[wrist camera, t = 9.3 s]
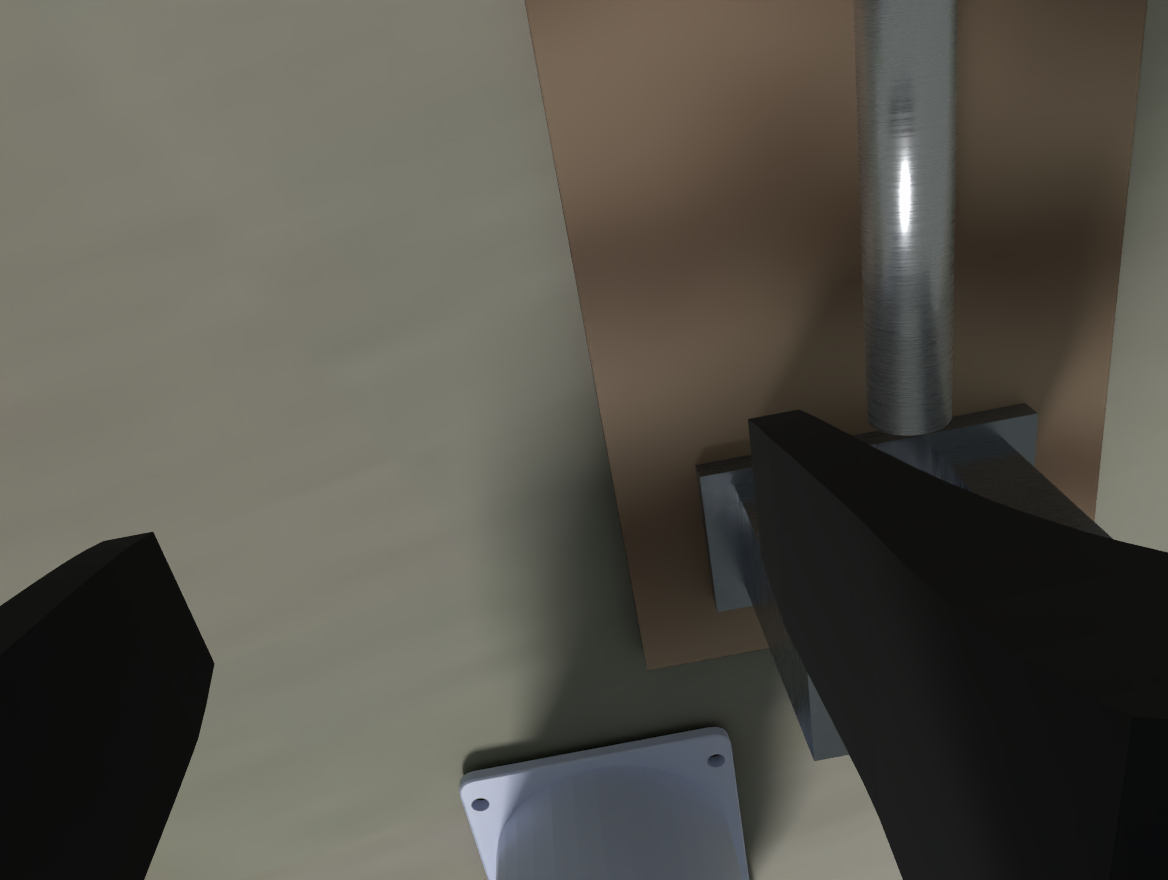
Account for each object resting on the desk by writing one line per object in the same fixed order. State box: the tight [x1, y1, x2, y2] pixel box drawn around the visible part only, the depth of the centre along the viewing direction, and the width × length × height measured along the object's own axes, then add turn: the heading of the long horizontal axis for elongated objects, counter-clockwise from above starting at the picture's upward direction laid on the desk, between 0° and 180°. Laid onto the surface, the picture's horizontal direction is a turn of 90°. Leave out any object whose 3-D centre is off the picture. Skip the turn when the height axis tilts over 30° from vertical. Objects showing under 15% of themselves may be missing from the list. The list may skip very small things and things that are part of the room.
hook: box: [853, 0, 958, 436], centre depth 15 cm, size 14×5×6 cm, turn 10°
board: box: [525, 0, 1147, 671], centre depth 20 cm, size 21×12×1 cm, turn 10°
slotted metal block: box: [695, 403, 1112, 761], centre depth 20 cm, size 4×8×6 cm, turn 100°
